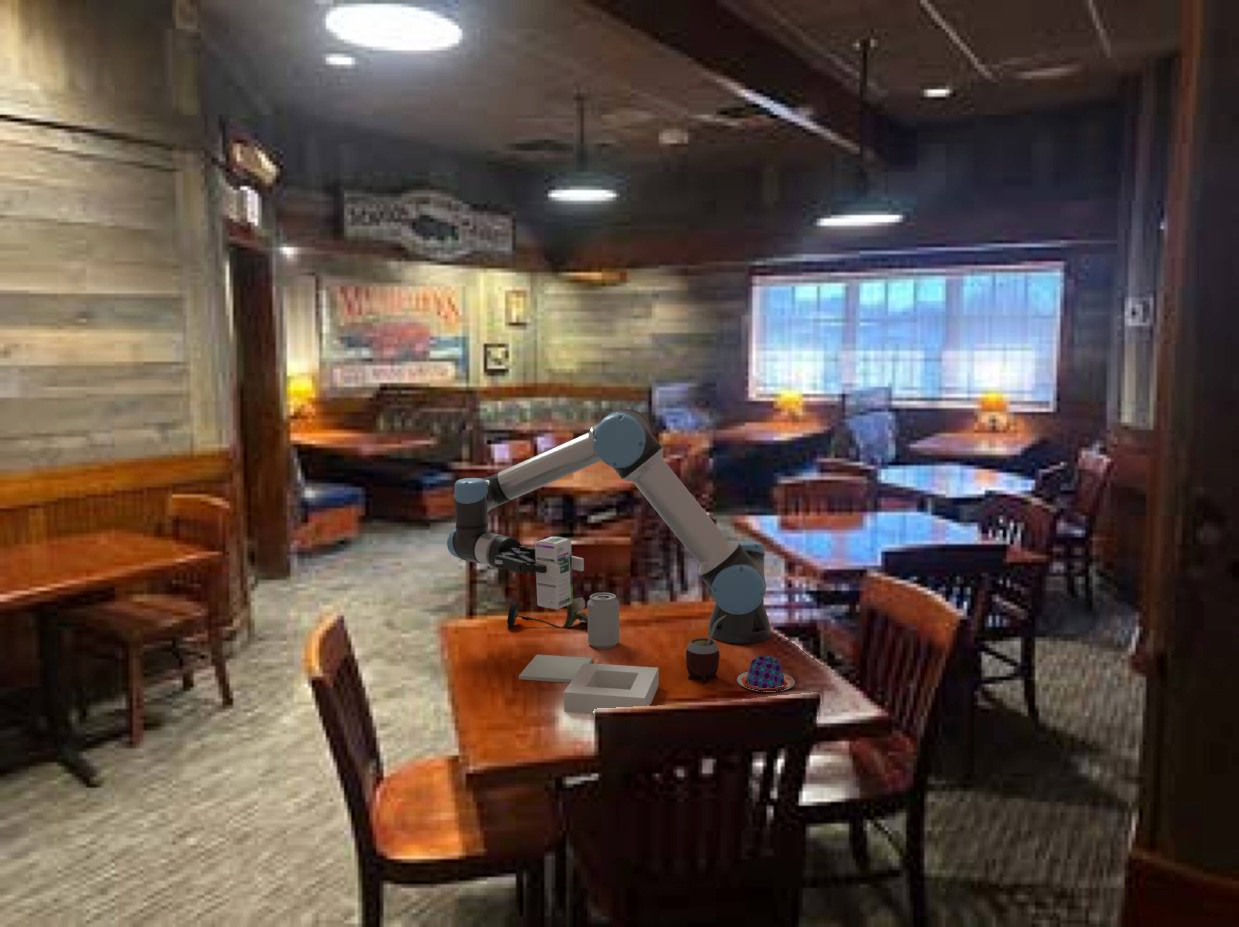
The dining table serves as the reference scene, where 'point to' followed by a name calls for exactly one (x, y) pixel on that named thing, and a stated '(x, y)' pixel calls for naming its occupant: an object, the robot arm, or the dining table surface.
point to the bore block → (610, 687)
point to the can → (603, 620)
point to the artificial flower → (571, 617)
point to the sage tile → (553, 668)
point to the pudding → (765, 674)
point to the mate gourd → (703, 657)
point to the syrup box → (550, 588)
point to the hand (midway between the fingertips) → (570, 568)
